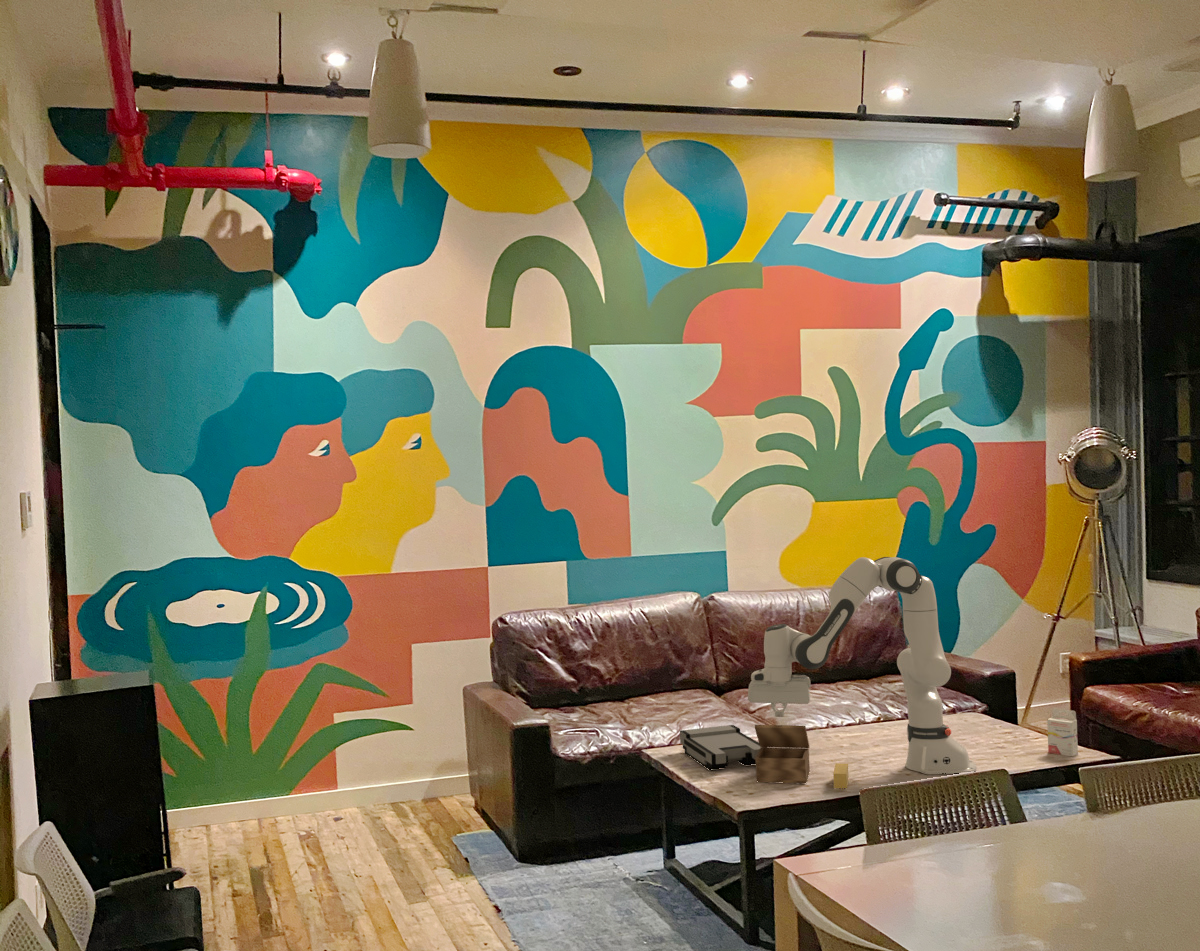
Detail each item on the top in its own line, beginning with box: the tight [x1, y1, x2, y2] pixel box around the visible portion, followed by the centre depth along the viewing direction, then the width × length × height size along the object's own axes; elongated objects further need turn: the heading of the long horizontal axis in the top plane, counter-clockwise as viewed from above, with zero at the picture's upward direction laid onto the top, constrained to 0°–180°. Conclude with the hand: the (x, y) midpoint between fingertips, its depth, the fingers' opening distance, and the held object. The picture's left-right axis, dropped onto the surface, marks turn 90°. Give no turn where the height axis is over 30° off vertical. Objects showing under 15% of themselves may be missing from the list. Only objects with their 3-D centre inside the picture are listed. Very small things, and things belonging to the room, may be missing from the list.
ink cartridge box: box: [1047, 707, 1079, 757], centre depth 379 cm, size 9×5×15 cm, turn 47°
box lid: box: [754, 724, 810, 749], centre depth 367 cm, size 16×14×1 cm
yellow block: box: [832, 762, 849, 790], centre depth 356 cm, size 4×12×5 cm, turn 165°
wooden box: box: [755, 747, 811, 784], centre depth 366 cm, size 16×14×8 cm
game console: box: [679, 724, 768, 771], centre depth 391 cm, size 21×32×8 cm, turn 15°
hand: (779, 716), depth 364 cm, fingers closed
